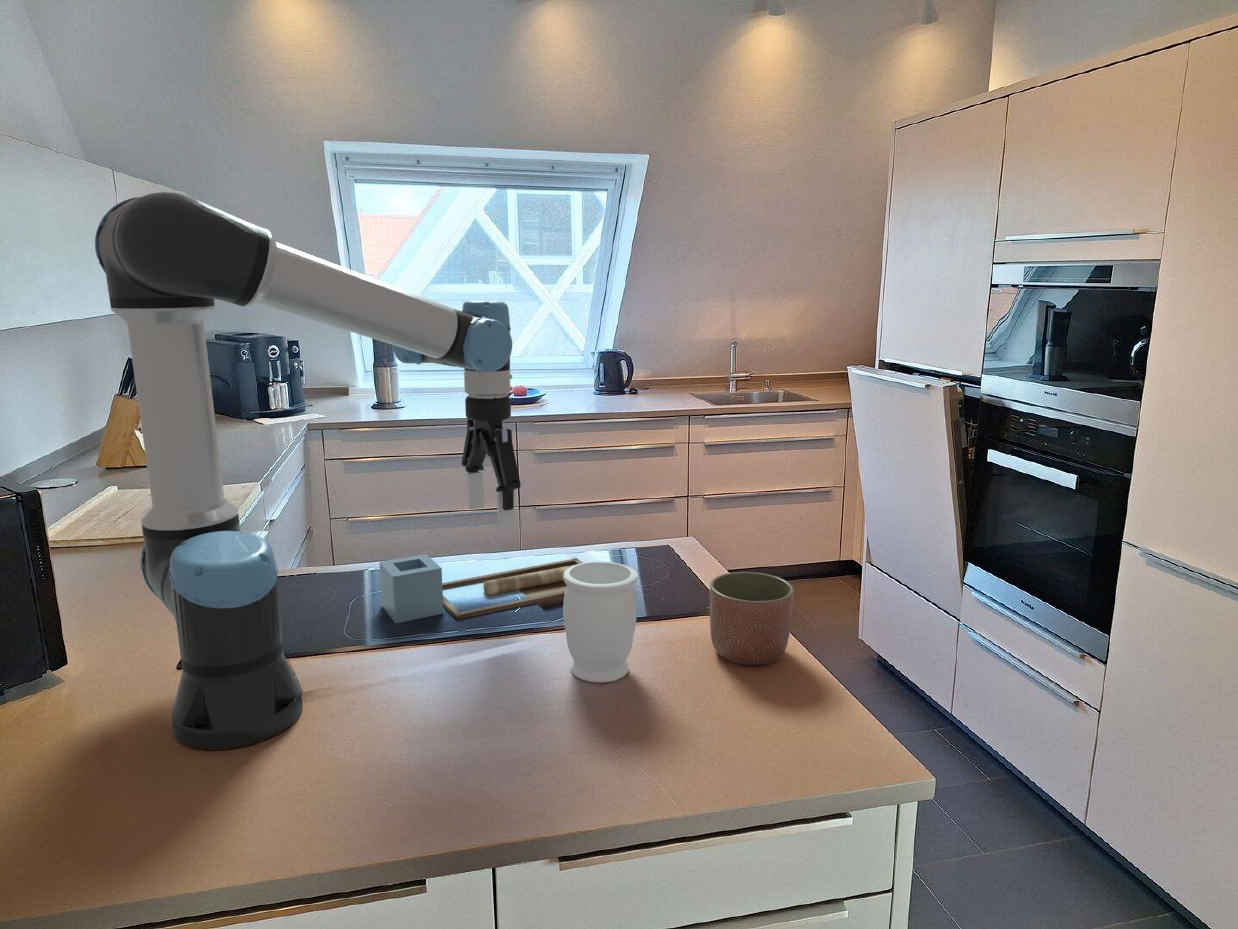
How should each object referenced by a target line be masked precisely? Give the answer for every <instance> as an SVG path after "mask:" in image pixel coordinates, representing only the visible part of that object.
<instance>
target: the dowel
mask: <svg viewBox="0 0 1238 929" xmlns="http://www.w3.org/2000/svg"><path fill="white" fill-rule="evenodd" d="M572 566H573V565H572ZM569 567H571V566H566V567H561V568H555V569H550V570H544V571H539V572H533V573H528V574H522V575H517V576H511V577H506V578H499V579H494V580H488V581H483V585H482V586H483V592H484V594H485V595H487V596H492V595H493V596H494V595H499V594H503V593H508V592H515V591H519V590H521V589H526V588H532V587H537V586H542V585H547V584H552V583H558V582H563V581H564V579H563V575H564V571H565V570H566V569H567V568H569Z"/></svg>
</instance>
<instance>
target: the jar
mask: <svg viewBox="0 0 1238 929" xmlns="http://www.w3.org/2000/svg"><path fill="white" fill-rule="evenodd" d="M563 579H564V582H565V583H566V585H567V587H566V590H565V595H564V603H562V605H563V606H562V614H563V616H562V617H563V626H564V630H565V636H566V644H567V647H568V650H569V654H570V656H571V658H572V662H571V664H570V671H571V673H572V674H573V675H574V677H576V678H578V679H579V680H582V681H585V682H589V683H601V684H602V683H610V682H615V681H618V680H620V679H622V678H624V677H625V676H626V675H627V674H628V672H629V664H628V661H627V660H628V657H629V655H630V653H631V649H632V646H633V642H634V634H635V630H636V625H637V615H638V614H637V612H638V611H637V608H638V607H637V598H636V592H635V588H634V586H635V584H636V583H637V581H638V573H637V571H636V570H635V569H634V568H632V567H631V566H629V565H626V564H623V563H618V562H613V561H612V562H611V561H588V562H583V563H580V564H576V565H573V566H571V567H569V568H567V569H566V570H565V571H564V575H563Z"/></svg>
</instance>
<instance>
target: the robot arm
mask: <svg viewBox="0 0 1238 929" xmlns="http://www.w3.org/2000/svg"><path fill="white" fill-rule="evenodd" d="M94 247H95V248H94V249H95V255H96V258H97V260H98V263H99V265H100V266H101V269H102V271H103V272H104V273H105V277H106V285H107V292H108V298H109V303H110V311H112V312H113V313H114V314H116V315H117V316H118V317H119V318H120V319H122V320H123V321H124V322H125V323H126V325H127V331H128V332H127V333H128V339H129V344H130V345H129V346H130V352H131V353H130V354H131V361H132V367H133V376H134V381H135V382H134V383H135V388H136V396H137V397H136V398H137V403H138V404H137V405H138V410H139V419H140V427H141V433H142V439H143V447H144V455H145V456H144V457H145V461H146V468H147V470H146V471H147V476H148V483H149V484H148V485H149V491H150V497H151V498H150V499H151V508H150V510H148V512H147V513H145V515H144V516H143V517H142V519H141V529H142V538H143V547H142V549H141V554H140V569H141V573H142V576H143V580H144V582H145V584H146V585H147V587H148V589H149V590H150V591H151V592H152V593H153V594H154V595H155V596H156V597H157V598H158V599H159V600H160V601H161V602H162V604H163V605H164V606H165V607H166V608H167V609H168V612H170V613H171V615H172V616H173V618H174V621H175V624H176V629H177V630H176V631H177V638H178V648H179V654H180V655H179V657H180V662H181V664H180V665H181V676H180V680H179V684H178V688H177V692H176V695H175V696H176V697H175V700H174V704H173V707H172V712H171V724H172V725H171V726H172V732H173V736H174V738H175V740H176V741H177V742H179V743H180V744H182V745H184V746H186V747H188V748H193V749H197V750H204V751H205V750H206V751H208V750H209V751H218V750H228V749H235V748H237V749H238V748H239V747H241V748H242V747H245V746H250V745H253V744H257V743H259V742H262V741H265V740H267V739H270V738H271V737H274V736H276V735H277V734H279V733H282V732H283V731H285V730H286V729H288V728H289V727H291V726H292V725H293V724H294V723H295V722H296V721H297V720H298V719H299V717H300V716H301V714H302V712H303V708H304V707H303V696H302V689H301V687H300V684H299V683H298V680H297V678H296V677H295V676H296V675H295V674H294V672H293V670H292V668H291V666H290V664H289V662H288V660H287V658H286V655H285V652H284V648H283V646H284V645H283V635H282V634H283V633H282V623H281V622H282V620H281V612H280V611H281V609H280V600H279V599H280V598H279V597H280V596H279V588H278V585H279V584H278V574H279V570H278V569H279V568H278V567H277V566H278V565H277V561H276V558H275V554H274V550H273V548H272V546H271V545H270V543H269V542H268V541H267V540H266V539H264V538H263V537H261V536H259V535H256V534H254V533H251V532H246V533H243V532H242V531H241V524H240V517H239V510H238V509H239V508H238V507H237V506H236V505H234V504H232V503H231V502H229V501H228V500H227V499H226V498H225V494H224V492H225V491H224V485H223V477H222V476H223V475H222V467H221V460H220V459H221V458H220V450H219V442H218V441H219V440H218V434H217V424H216V415H215V408H214V400H213V399H214V398H213V391H212V381H211V373H210V363H209V356H208V348H207V337H206V331H205V330H206V329H205V320H206V319H207V318H208V316H210V315H211V313H212V312H213V311H214V310H215V309H216V304H215V303H216V302H215V300H218V301H222V302H227V303H230V304H233V305H237V306H240V307H244V308H247V307H249V306H251V305H253V304H256V303H259V304H261V305H265V306H268V307H270V308H273V309H274V308H275V309H276V310H281V311H284V312H287V313H290V314H293V315H297V316H300V317H303V318H306V319H309V320H313V321H315V322H319V323H322V324H325V325H329V326H330V327H331V326H332V327H335V328H338V329H341V330H344V331H347V332H351V333H354V334H357V335H360V336H363V337H365V338H366V337H367V338H369V339H373V340H376V341H379V342H383V343H386V344H389V345H391V347H392V351H393V353H394V356H395V357H396V359H397V360H399V362H401V363H403V364H408V365H409V364H413V365H414V364H416V365H421V364H438V365H441V366H448V367H455V368H456V367H457V368H460V369H461V368H462V369H463V373H464V374H463V376H464V377H463V378H464V379H463V380H464V382H463V384H464V392H465V394H467V396H466V397H465V398H464V402H465V403H464V405H465V408H464V409H465V417H466V419H467V420H466V435H465V440H464V446H463V447H464V448H463V453H462V458H461V465H462V467H465V471H466V473H467V474H466V476H467V478H466V480H467V481H466V482H467V483H466V484H467V509H468V510H475V509H484V507H485V499H484V498H485V497H484V495H485V494H484V493H485V492H484V491H485V490H484V471H485V468H484V465H483V463H484V461H485V459H486V456H488V457H489V458H490V461H491V465H492V468H493V471H494V475H495V477H496V481H497V485H498V486H497V487H496V488H495V492H496V504H497V505H496V510H497V511H496V512H497V513H496V514H497V516H496V517H497V529H498V530H503V529H504V530H505V529H506V530H507V529H510V528H511V529H512V528H515V491H516V490H517V489H520V488H521V479H520V475H519V469H518V465H517V460H516V456H515V450H514V445H513V432H512V429H511V428H505V429H504V428H503V421H504V420H508V419H510V418H511V416H512V401H511V400H512V398H511V397H510V396H509V395H508V394H509V393H511V380H512V379H513V374H512V373H511V354H512V350H513V339H512V335H511V329H512V328H511V320H510V311H509V306H508V304H507V303H505V302H504V301H499V300H466V301H464V303H462V310H459V309H456V308H453V307H450V306H448V305H446V304H443V303H441V302H437V301H435V300H432V299H428V298H427V297H424V296H421V295H419V294H417V293H413V292H411V291H408V290H405V289H402V288H400V287H397V286H396V285H392V284H390V283H387V282H383V281H381V280H378V279H376V278H373V277H370V276H367V275H365V274H362V273H360V272H357V271H354V270H351V269H349V268H346V267H344V266H341V265H338V264H335V263H333V262H330V261H328V260H325V259H322V258H319V257H317V256H314V255H312V254H309V253H306V252H303V251H300V250H298V249H295V248H293V247H290V246H287V245H285V244H282V243H280V242H277V241H275V239H274V238H273V235H272V234H271V232H270V230H268V229H267V228H264V227H261V226H259V225H256V224H253V223H251V222H248V221H246V220H243V219H242V218H239V217H237V216H235V215H232V214H230V213H227V212H226V211H223V210H221V209H219V208H216V207H214V206H212V205H210V204H208V203H205V202H203V201H200V200H199V199H196V198H193V197H190V196H188V195H184V194H180V193H176V192H169V191H167V192H166V191H162V192H153V193H149V194H145V195H143V196H139V197H138V196H137V197H132V198H128V199H125V200H122V201H120V202H119V203H117V204H115V205H114V206H112V207H111V208H110V209H109V210H108V211H107V212H106V213H105V214H104V215H103V216H102V218H101V220H100V222H99V223H98V226H97V229H96V231H95V236H94Z"/></svg>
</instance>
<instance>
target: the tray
mask: <svg viewBox="0 0 1238 929" xmlns="http://www.w3.org/2000/svg"><path fill="white" fill-rule="evenodd" d="M580 563H584V562H583V561H582V560H580V559H578V558H577V557H576V558H571V559H565V560H560V561H554V562H548V563H542V564H538V565H531V566H526V567H523V568H516V569H512V570H505V571H500V572H496V573H489V574H484V575H478V576H474V577H473V576H472V577H469V578H463V579H462V578H461V579H458V580H451V581H447V582H442V589H443V590H446V589H451V588H456V587H462V586H465V585H472V584H477V583H482V582H483V583H484V581H489V580H495V579H500V578H506V577H511V576H517V575H522V574H528V573H533V572H539V571H544V570H550V569H555V568H561V567H566V566H572V565H576V564H580ZM566 587H567V585H566V583H565V582H564V581H563V582H558V583H552V584H547V585H542V586H537V587H532V588H526V589H521V590H518V591H519V592H521V593H522V594H523V595H524V596H525V597H526V598H522V599H518V600H513V601H509V602H503V603H498V604H494V605H488V606H483V607H478V608H474V609H468V610H465V611H463V610H462V611H459V609H458V608H457V607H455V605H454V604H453V603H452V602H450V601H449V599H448V598H446V597H445V596H444V595H443V608H444V609H445V610H446V611H447V612H449V614H450V615H451V616H452V617H453V618H454V619H456V621H458V620H462V619H467V618H472V617H476V616H481V615H485V614H491V613H495V612H500V611H505V610H509V609H513V608H515V609H516V608H519V607H523V606H528V605H533V604H535V605H537V606H538V607H539V608H545V607H551V606H556V605H560V604H563V603H564V595H565V590H566Z"/></svg>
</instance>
